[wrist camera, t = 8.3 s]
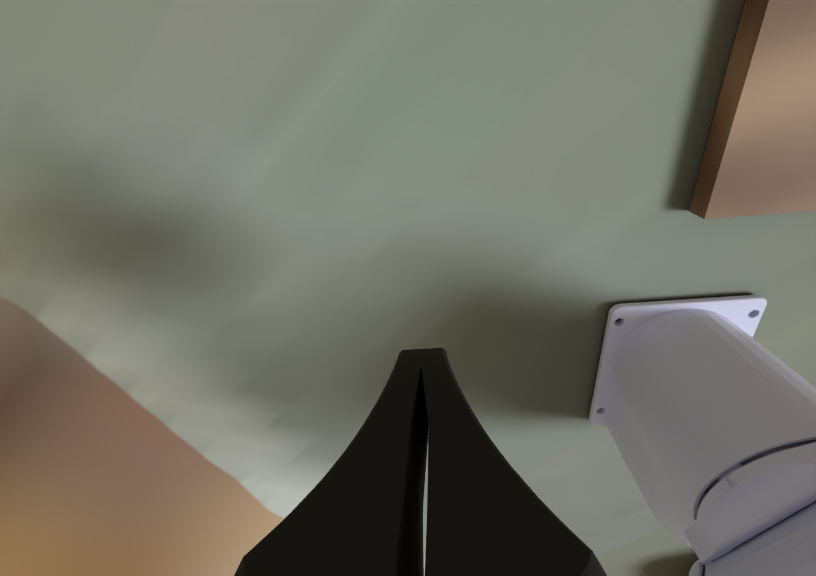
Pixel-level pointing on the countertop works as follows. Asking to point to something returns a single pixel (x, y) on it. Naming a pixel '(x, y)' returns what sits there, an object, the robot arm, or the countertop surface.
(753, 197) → the board
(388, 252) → the countertop surface
